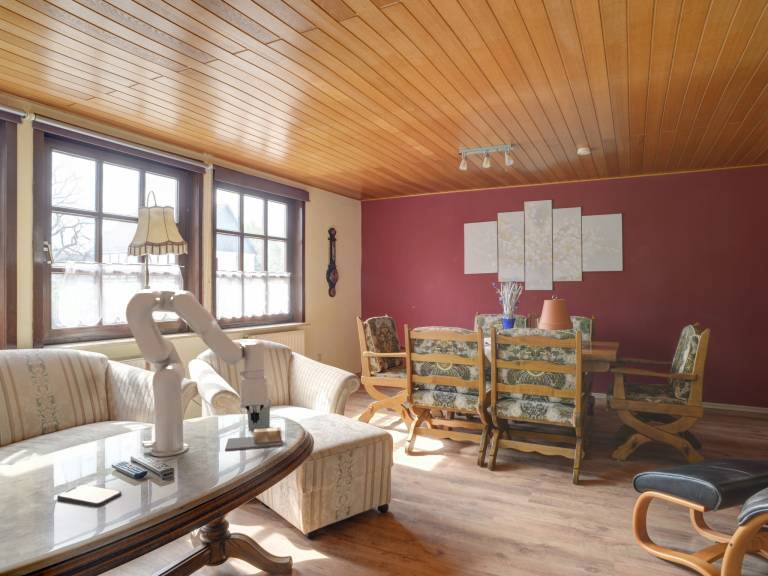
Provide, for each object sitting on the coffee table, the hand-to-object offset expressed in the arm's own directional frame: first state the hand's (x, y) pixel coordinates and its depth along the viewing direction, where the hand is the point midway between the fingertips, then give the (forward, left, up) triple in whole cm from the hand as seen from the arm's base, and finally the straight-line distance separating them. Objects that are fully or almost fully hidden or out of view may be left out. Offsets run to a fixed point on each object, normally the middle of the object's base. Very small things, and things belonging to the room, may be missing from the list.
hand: (255, 422), depth 190 cm
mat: (-1, 0, -8) cm, 8 cm away
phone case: (-45, -37, -9) cm, 59 cm away
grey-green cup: (0, +20, -8) cm, 22 cm away
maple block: (-1, 0, -5) cm, 5 cm away
